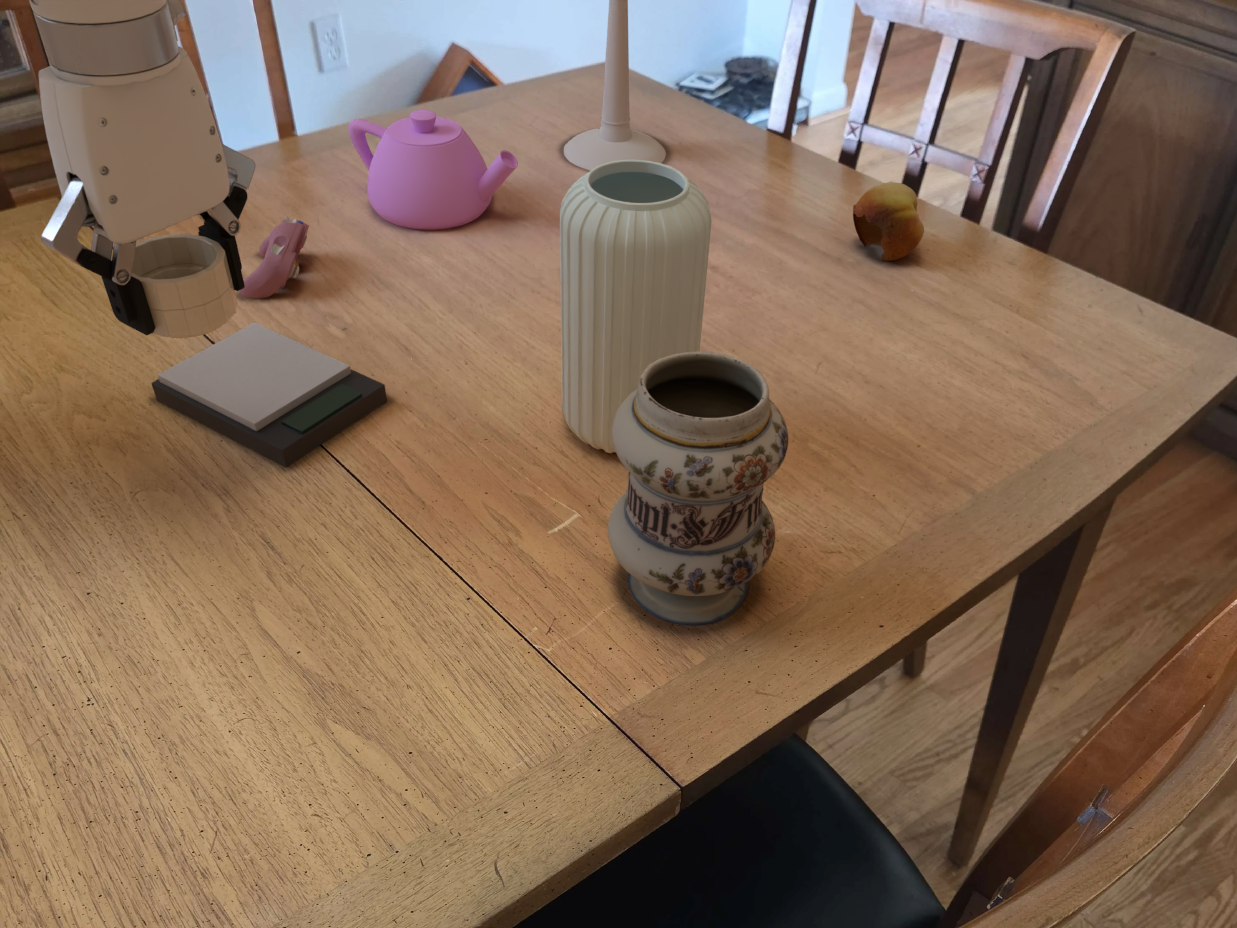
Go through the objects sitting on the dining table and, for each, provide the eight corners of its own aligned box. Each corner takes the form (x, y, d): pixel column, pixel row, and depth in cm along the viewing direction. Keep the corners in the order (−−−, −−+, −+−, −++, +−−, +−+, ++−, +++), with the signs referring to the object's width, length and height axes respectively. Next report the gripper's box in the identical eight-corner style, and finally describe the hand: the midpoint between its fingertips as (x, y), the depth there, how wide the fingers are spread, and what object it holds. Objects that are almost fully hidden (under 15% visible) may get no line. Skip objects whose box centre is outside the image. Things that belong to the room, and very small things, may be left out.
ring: (114, 320, 79) (94, 260, 76) (194, 282, 83) (179, 224, 80) (179, 354, 76) (162, 293, 73) (259, 313, 80) (245, 254, 77)
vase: (716, 448, 96) (744, 198, 80) (600, 485, 91) (605, 229, 75) (650, 381, 102) (664, 139, 86) (539, 413, 98) (532, 164, 82)
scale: (158, 406, 97) (148, 374, 94) (262, 348, 104) (255, 317, 101) (287, 473, 91) (280, 441, 88) (388, 407, 98) (383, 376, 96)
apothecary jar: (713, 519, 89) (736, 319, 76) (796, 613, 82) (837, 410, 69) (579, 563, 85) (579, 358, 72) (654, 666, 77) (669, 460, 64)
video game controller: (281, 319, 110) (301, 262, 106) (235, 299, 109) (254, 240, 104) (301, 271, 117) (321, 216, 113) (258, 252, 115) (277, 194, 111)
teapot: (495, 254, 118) (489, 154, 111) (329, 220, 122) (313, 122, 114) (543, 202, 127) (541, 106, 120) (388, 172, 131) (376, 78, 124)
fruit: (897, 282, 118) (914, 209, 112) (830, 257, 121) (843, 185, 115) (929, 256, 122) (947, 185, 116) (864, 233, 125) (878, 163, 120)
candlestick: (557, 138, 140) (553, -145, 119) (655, 134, 142) (669, -144, 121) (571, 181, 132) (570, -116, 110) (675, 177, 134) (694, -115, 112)
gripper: (186, -8, 73) (243, 245, 86) (-63, 60, 63) (44, 337, 75) (264, 17, 70) (311, 276, 83) (17, 94, 60) (114, 375, 73)
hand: (183, 303), depth 79 cm, fingers closed on ring, 7 cm apart
